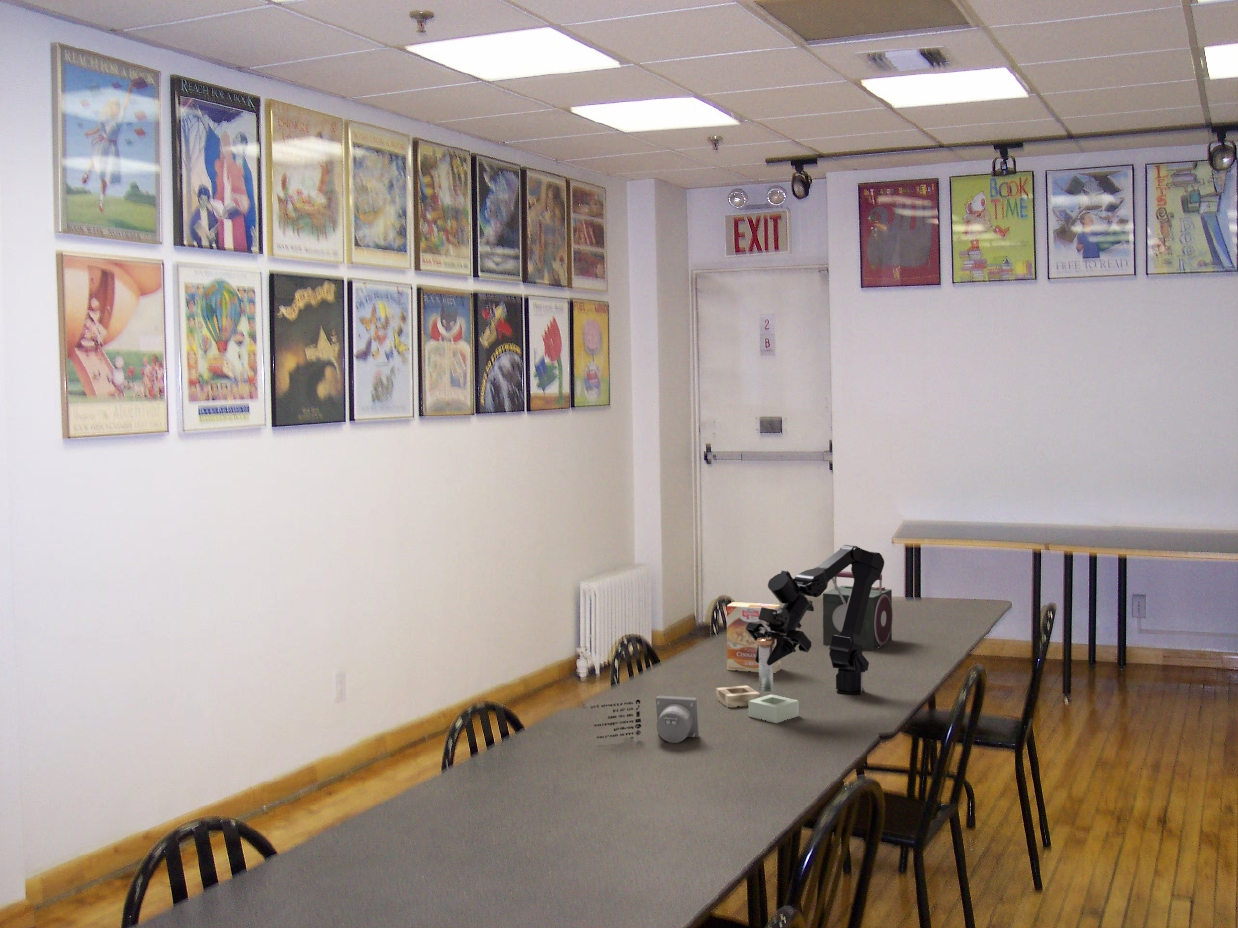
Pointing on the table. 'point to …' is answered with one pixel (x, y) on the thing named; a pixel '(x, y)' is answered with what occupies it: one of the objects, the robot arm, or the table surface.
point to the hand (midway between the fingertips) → (762, 663)
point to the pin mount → (736, 695)
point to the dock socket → (773, 708)
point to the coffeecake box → (745, 636)
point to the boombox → (875, 619)
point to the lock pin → (765, 664)
